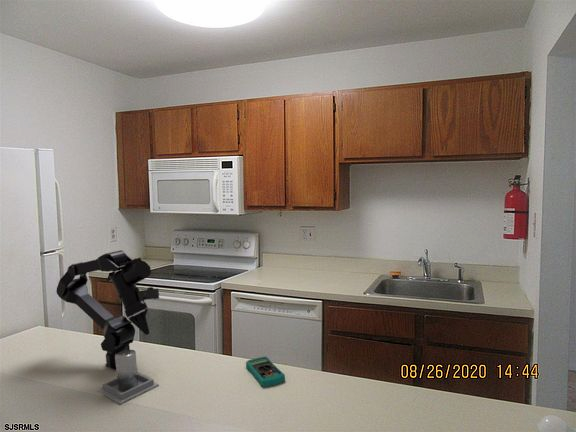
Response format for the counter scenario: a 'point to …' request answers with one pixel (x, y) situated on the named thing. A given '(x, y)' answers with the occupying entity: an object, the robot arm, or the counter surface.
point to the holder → (121, 397)
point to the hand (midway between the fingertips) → (147, 333)
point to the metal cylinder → (126, 370)
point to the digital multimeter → (265, 371)
